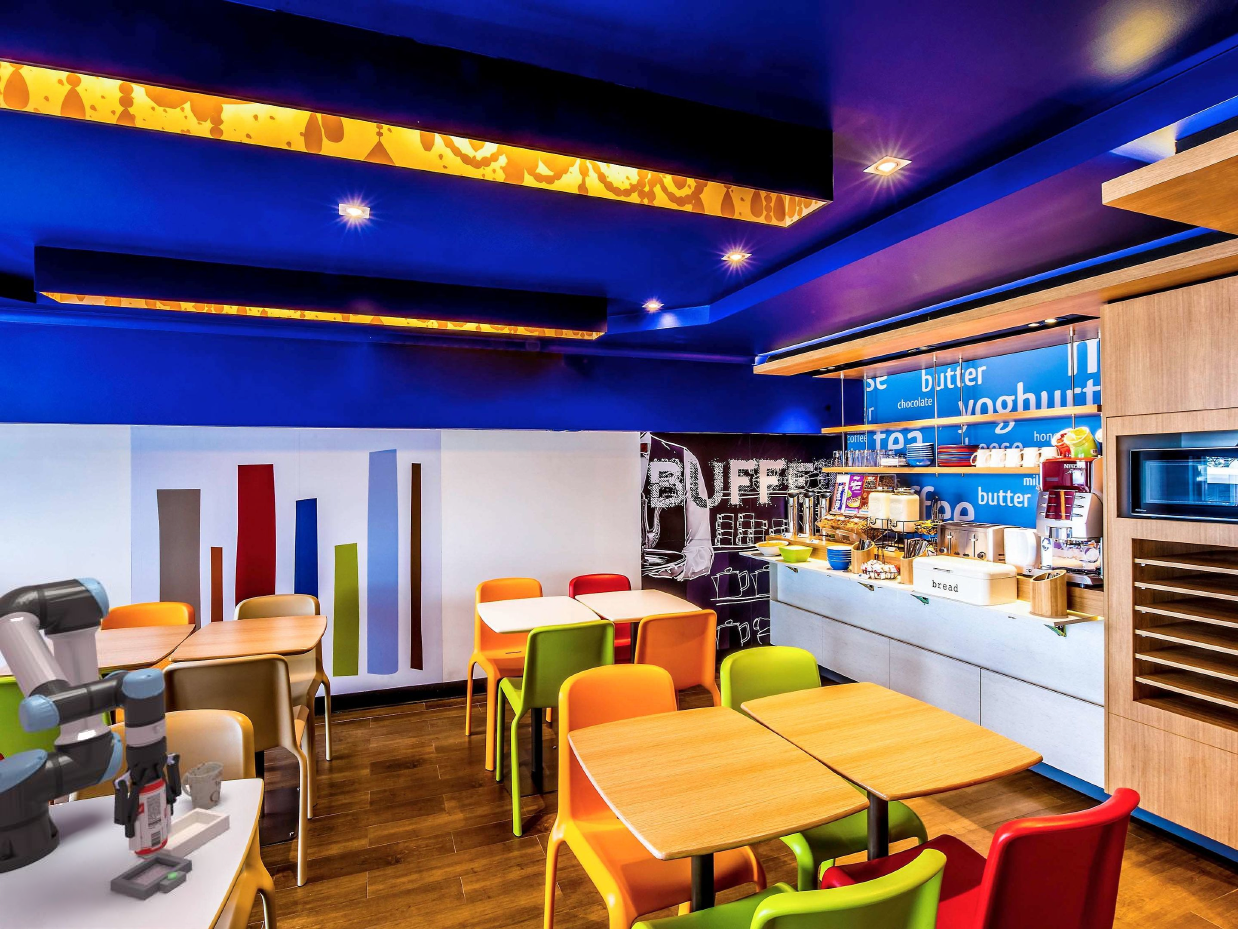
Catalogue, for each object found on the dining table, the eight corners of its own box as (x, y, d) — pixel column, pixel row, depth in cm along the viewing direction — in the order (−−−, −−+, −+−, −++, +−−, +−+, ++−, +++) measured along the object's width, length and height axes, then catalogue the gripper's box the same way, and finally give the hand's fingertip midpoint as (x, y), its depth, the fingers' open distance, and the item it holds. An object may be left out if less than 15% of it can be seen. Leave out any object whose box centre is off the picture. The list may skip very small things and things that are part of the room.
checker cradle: (110, 890, 144) (110, 879, 144) (159, 861, 154) (158, 850, 154) (152, 903, 139) (151, 891, 139) (199, 871, 150) (199, 861, 150)
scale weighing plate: (124, 886, 145) (124, 882, 145) (156, 866, 152) (156, 863, 152) (147, 892, 143) (147, 889, 143) (178, 872, 149) (178, 869, 149)
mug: (206, 814, 174) (205, 777, 174) (167, 810, 176) (166, 774, 176) (231, 798, 182) (229, 763, 182) (193, 794, 185) (192, 759, 184)
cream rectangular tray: (137, 856, 156) (136, 841, 156) (197, 821, 171) (197, 807, 171) (171, 864, 153) (170, 850, 152) (229, 828, 167) (229, 814, 167)
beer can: (141, 861, 143) (138, 789, 142) (129, 853, 146) (125, 782, 146) (173, 846, 148) (170, 777, 148) (160, 838, 151) (157, 770, 151)
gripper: (112, 761, 136) (117, 870, 137) (198, 724, 154) (202, 820, 155) (88, 757, 139) (93, 863, 139) (175, 721, 157) (179, 815, 157)
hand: (150, 840), depth 147 cm, fingers closed on beer can, 6 cm apart
